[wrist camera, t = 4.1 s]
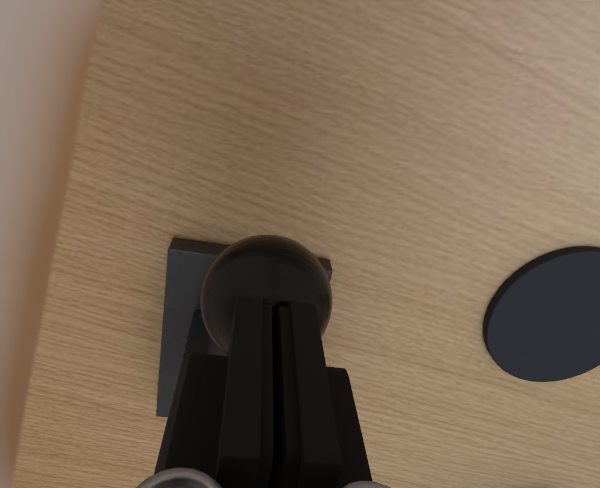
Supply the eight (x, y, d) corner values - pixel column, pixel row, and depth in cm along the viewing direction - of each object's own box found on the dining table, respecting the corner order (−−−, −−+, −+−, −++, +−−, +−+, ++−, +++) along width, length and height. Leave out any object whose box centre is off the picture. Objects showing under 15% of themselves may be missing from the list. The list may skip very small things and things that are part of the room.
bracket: (172, 237, 23) (78, 464, 11) (329, 259, 24) (386, 485, 12) (160, 400, 28) (84, 676, 16) (291, 412, 29) (307, 677, 17)
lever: (214, 204, 12) (197, 271, 9) (336, 222, 12) (356, 291, 9) (179, 510, 18) (162, 607, 15) (262, 515, 18) (260, 610, 15)
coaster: (597, 213, 24) (605, 218, 23) (663, 316, 27) (671, 322, 26) (452, 315, 26) (456, 321, 25) (530, 397, 29) (534, 404, 29)
